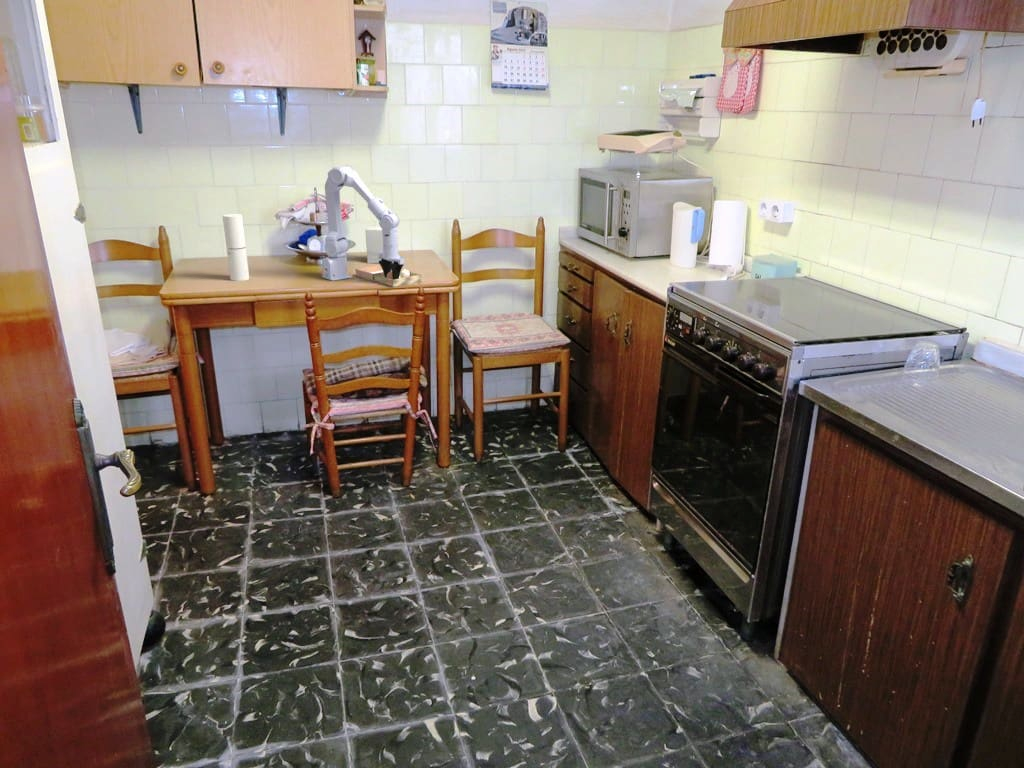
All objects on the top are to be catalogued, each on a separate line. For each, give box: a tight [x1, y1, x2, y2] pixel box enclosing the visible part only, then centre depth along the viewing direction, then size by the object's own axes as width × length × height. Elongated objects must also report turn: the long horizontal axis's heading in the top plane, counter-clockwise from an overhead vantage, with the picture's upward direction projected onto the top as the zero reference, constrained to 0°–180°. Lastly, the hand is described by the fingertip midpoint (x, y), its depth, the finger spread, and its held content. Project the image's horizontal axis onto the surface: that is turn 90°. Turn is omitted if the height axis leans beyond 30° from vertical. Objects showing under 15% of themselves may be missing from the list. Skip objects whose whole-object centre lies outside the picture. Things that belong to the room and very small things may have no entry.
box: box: [373, 269, 423, 288], centre depth 290 cm, size 14×12×3 cm
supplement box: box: [365, 225, 383, 265], centre depth 321 cm, size 9×9×15 cm
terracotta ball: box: [387, 272, 393, 280], centre depth 288 cm, size 4×4×4 cm
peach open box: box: [355, 264, 403, 282], centre depth 299 cm, size 14×12×3 cm
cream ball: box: [400, 269, 410, 278], centre depth 292 cm, size 4×4×4 cm
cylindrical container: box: [222, 213, 250, 282], centre depth 285 cm, size 7×7×25 cm
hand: (391, 279), depth 288 cm, fingers open, 5 cm apart
